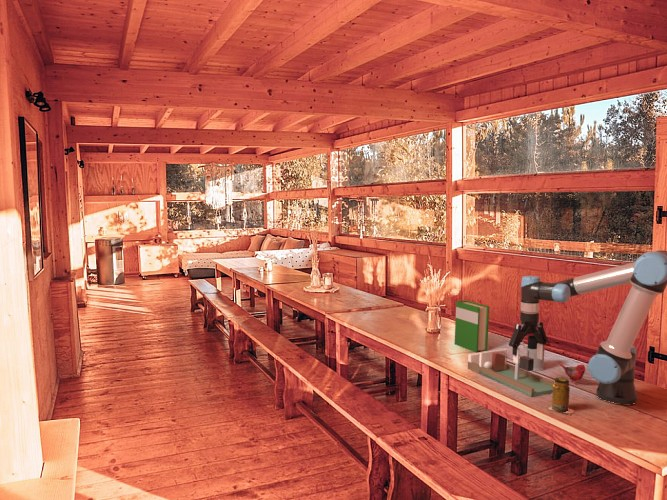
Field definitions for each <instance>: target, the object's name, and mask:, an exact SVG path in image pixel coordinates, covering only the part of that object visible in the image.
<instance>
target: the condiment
mask: <svg viewBox="0 0 667 500" xmlns="http://www.w3.org/2000/svg"><path fill="white" fill-rule="evenodd" d="M553 382H554V385H553V393H551V395H552V396H551V397H552V398H551V406H550V407H548V408H547V410H550V411H554V412H557V413H561V414H565V415H569V416H571V415H570V414H569V413H562V412H566V411H568V408H570V407H569V406H570V405H569V404H570V390H571V389H570V388H571V387H570V380H569V379H568V378H565V377H558V376H557V377H555V378H554V380H553Z"/></svg>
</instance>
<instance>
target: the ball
mask: <svg viewBox="0 0 667 500" xmlns="http://www.w3.org/2000/svg"><path fill="white" fill-rule="evenodd" d="M484 367H485V368H487V369H492V363H491V362H485V363H484Z"/></svg>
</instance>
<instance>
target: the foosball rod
mask: <svg viewBox="0 0 667 500" xmlns="http://www.w3.org/2000/svg"><path fill="white" fill-rule="evenodd" d="M520 356H521V357H520ZM520 356H519V363H520V365H519V368H520V369H523V370H525V371H528V372H531V371H532V370H533V365H534V359H532V358H530V357H527V355H520ZM505 357H506V358H507V359H509V360H511V361H513V355H510V354H509V353H507V354H505V353H504V352H497V353H492V369H491V370H492V371H500V370H505Z"/></svg>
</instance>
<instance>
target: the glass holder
mask: <svg viewBox="0 0 667 500" xmlns="http://www.w3.org/2000/svg"><path fill="white" fill-rule="evenodd" d="M538 343H539V342H538V341H537V339H536V338H535V336H534V335H528V336H527V347H525V342H524V339H523V340H522V344H523V345H522V346H523V348H524V349H526V356H527V357H530V358H532V359H534V365H533V370H532V371H534V372H543V371H544V370H545V367H544V364H545V348H546V345H544V351H543V360H541V359H538V358H537V344H538ZM521 356H522V355H520V354H519V358H520V357H521Z"/></svg>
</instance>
